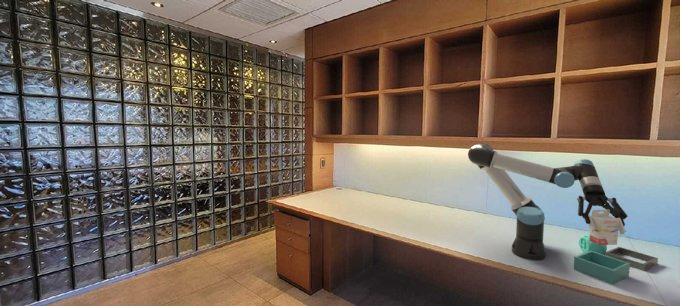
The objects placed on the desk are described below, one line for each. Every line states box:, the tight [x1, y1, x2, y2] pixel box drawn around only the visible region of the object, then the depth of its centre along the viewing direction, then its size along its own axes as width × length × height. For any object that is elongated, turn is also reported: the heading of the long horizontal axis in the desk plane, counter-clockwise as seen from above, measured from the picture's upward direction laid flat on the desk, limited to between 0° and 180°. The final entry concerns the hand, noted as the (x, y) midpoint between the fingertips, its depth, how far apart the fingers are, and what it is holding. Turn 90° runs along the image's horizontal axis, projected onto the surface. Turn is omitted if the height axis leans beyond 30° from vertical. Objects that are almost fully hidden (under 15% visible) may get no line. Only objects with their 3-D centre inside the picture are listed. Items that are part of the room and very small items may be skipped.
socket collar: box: [604, 246, 659, 272], centre depth 135 cm, size 14×14×3 cm
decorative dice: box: [578, 234, 608, 255], centre depth 144 cm, size 8×8×8 cm
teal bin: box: [573, 251, 631, 285], centre depth 125 cm, size 14×14×6 cm
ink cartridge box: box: [589, 209, 620, 246], centre depth 123 cm, size 9×5×15 cm, turn 92°
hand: (608, 231), depth 120 cm, fingers closed on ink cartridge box, 9 cm apart
